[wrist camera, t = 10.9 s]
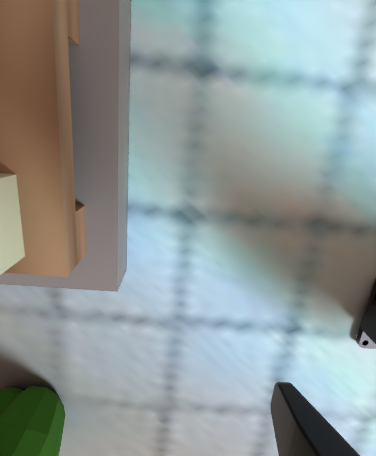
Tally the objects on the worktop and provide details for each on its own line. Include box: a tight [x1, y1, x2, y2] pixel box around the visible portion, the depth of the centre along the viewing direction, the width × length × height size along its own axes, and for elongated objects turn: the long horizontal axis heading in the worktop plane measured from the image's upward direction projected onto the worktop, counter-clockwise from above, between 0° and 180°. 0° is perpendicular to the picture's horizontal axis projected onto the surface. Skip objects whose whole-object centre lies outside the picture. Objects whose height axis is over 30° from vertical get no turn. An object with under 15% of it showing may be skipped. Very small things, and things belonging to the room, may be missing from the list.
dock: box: [0, 0, 131, 291], centre depth 14 cm, size 13×30×3 cm, turn 175°
